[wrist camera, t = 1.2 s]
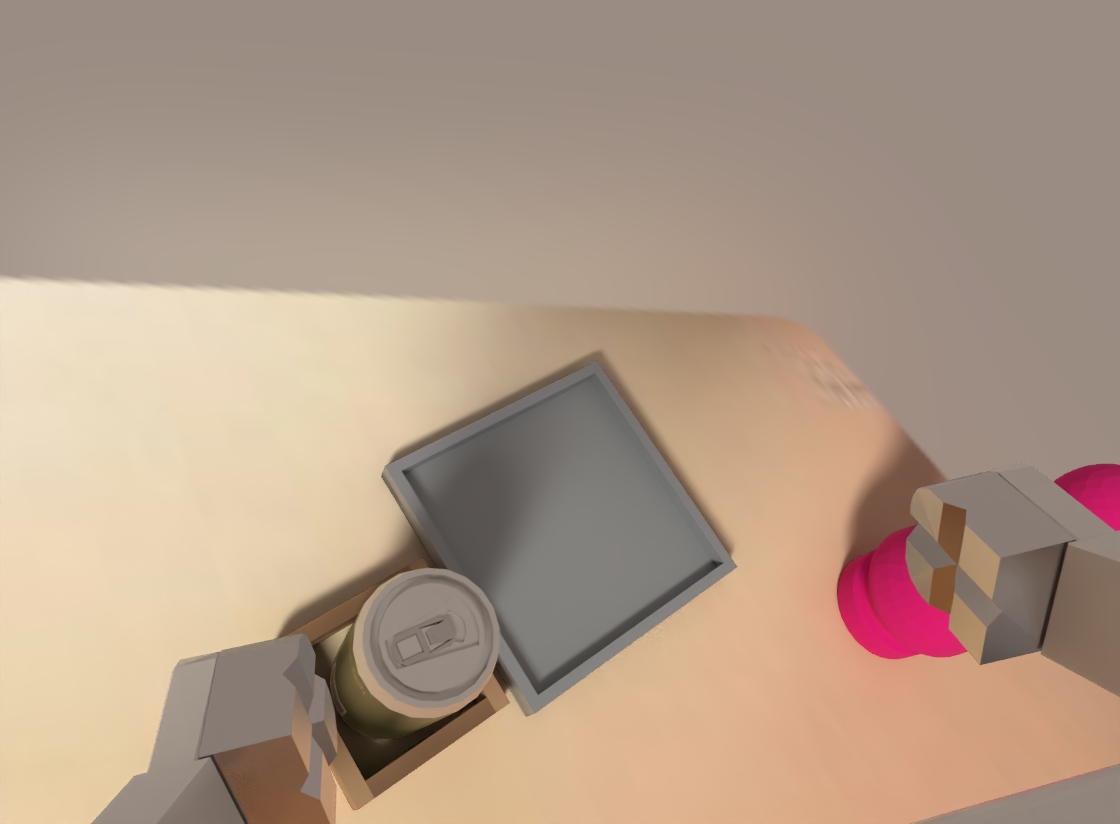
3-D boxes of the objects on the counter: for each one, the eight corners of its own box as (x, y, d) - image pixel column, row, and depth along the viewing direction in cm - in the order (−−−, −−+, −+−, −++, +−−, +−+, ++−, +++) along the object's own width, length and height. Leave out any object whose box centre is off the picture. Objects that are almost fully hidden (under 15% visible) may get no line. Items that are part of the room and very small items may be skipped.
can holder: (267, 653, 39) (268, 645, 38) (415, 567, 43) (422, 557, 41) (352, 809, 38) (357, 809, 36) (499, 707, 42) (510, 702, 40)
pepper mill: (823, 540, 52) (1108, 404, 34) (923, 555, 54) (1240, 434, 36) (834, 661, 49) (1155, 579, 31) (940, 674, 50) (1297, 602, 33)
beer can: (354, 762, 39) (392, 744, 28) (310, 652, 40) (331, 596, 30) (460, 708, 41) (530, 673, 31) (415, 606, 42) (469, 539, 32)
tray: (381, 476, 44) (385, 466, 43) (588, 372, 51) (597, 360, 50) (526, 716, 42) (534, 713, 41) (724, 573, 49) (737, 566, 47)
